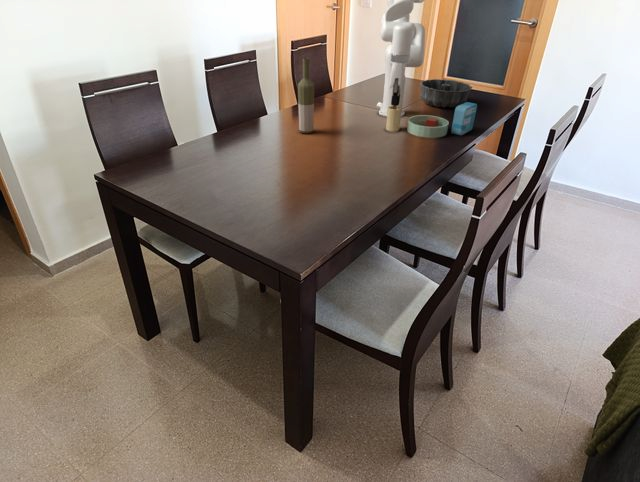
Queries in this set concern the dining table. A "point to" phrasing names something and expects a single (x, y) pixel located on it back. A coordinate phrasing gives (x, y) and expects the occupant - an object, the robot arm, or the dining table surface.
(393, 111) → the crock
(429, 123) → the block
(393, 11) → the robot arm
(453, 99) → the bundt pan
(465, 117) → the data package
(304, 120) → the bottle
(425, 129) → the bowl
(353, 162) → the dining table surface
